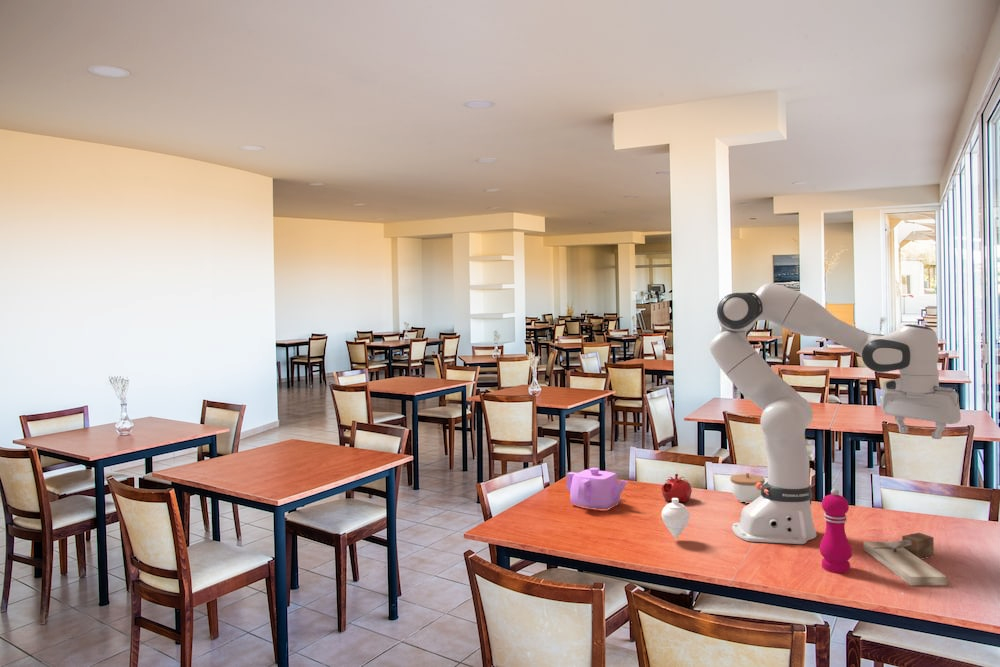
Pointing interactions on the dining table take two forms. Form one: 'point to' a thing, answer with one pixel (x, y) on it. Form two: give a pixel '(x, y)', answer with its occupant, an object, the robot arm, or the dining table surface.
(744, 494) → the lidded jar
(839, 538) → the pepper mill
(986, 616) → the dining table surface
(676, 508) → the spinning top
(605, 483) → the teakettle
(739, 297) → the robot arm
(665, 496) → the pomegranate
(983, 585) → the dining table surface
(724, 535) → the dining table surface
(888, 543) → the plank
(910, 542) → the gauge
